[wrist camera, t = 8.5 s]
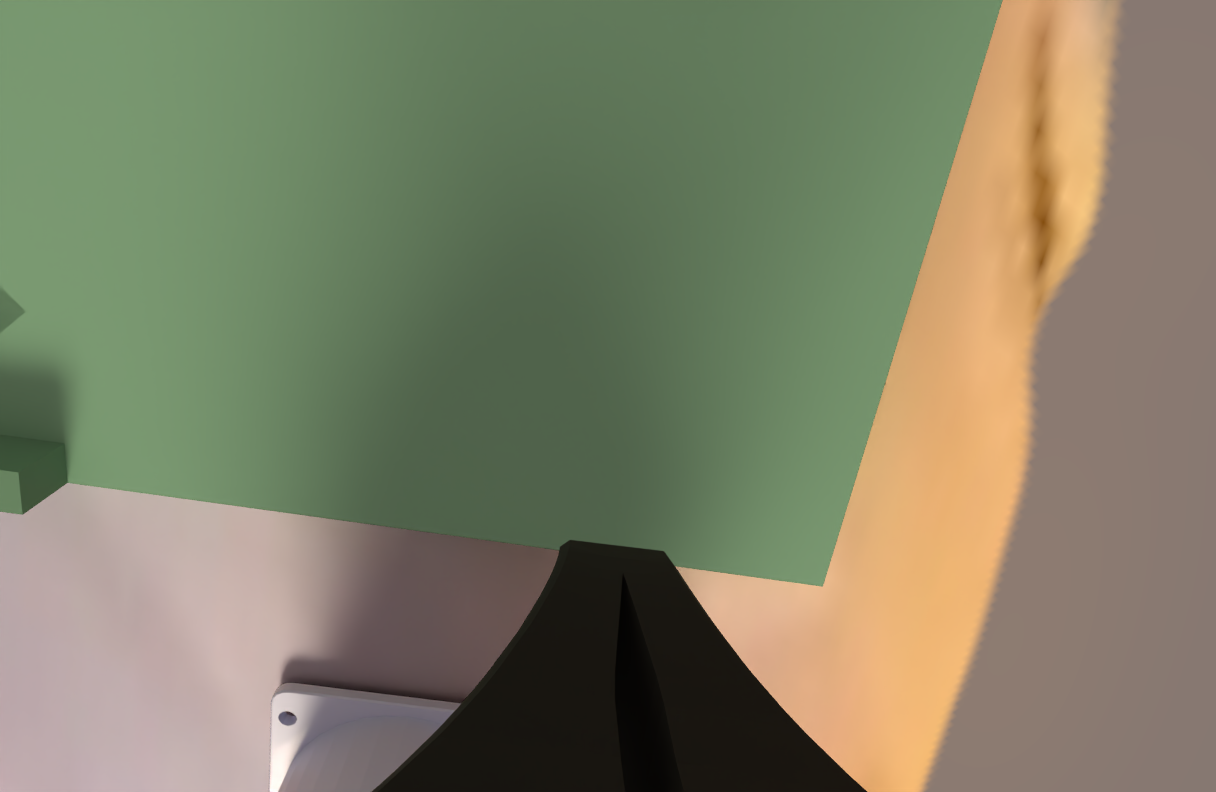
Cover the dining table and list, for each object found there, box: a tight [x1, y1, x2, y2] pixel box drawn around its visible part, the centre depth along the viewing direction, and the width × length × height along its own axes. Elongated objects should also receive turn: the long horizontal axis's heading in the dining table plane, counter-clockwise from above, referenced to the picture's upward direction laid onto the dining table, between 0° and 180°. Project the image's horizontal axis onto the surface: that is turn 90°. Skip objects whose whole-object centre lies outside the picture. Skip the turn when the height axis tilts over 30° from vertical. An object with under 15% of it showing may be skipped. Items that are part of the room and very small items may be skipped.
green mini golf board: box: [0, 0, 1002, 586], centre depth 16 cm, size 14×30×4 cm, turn 81°
